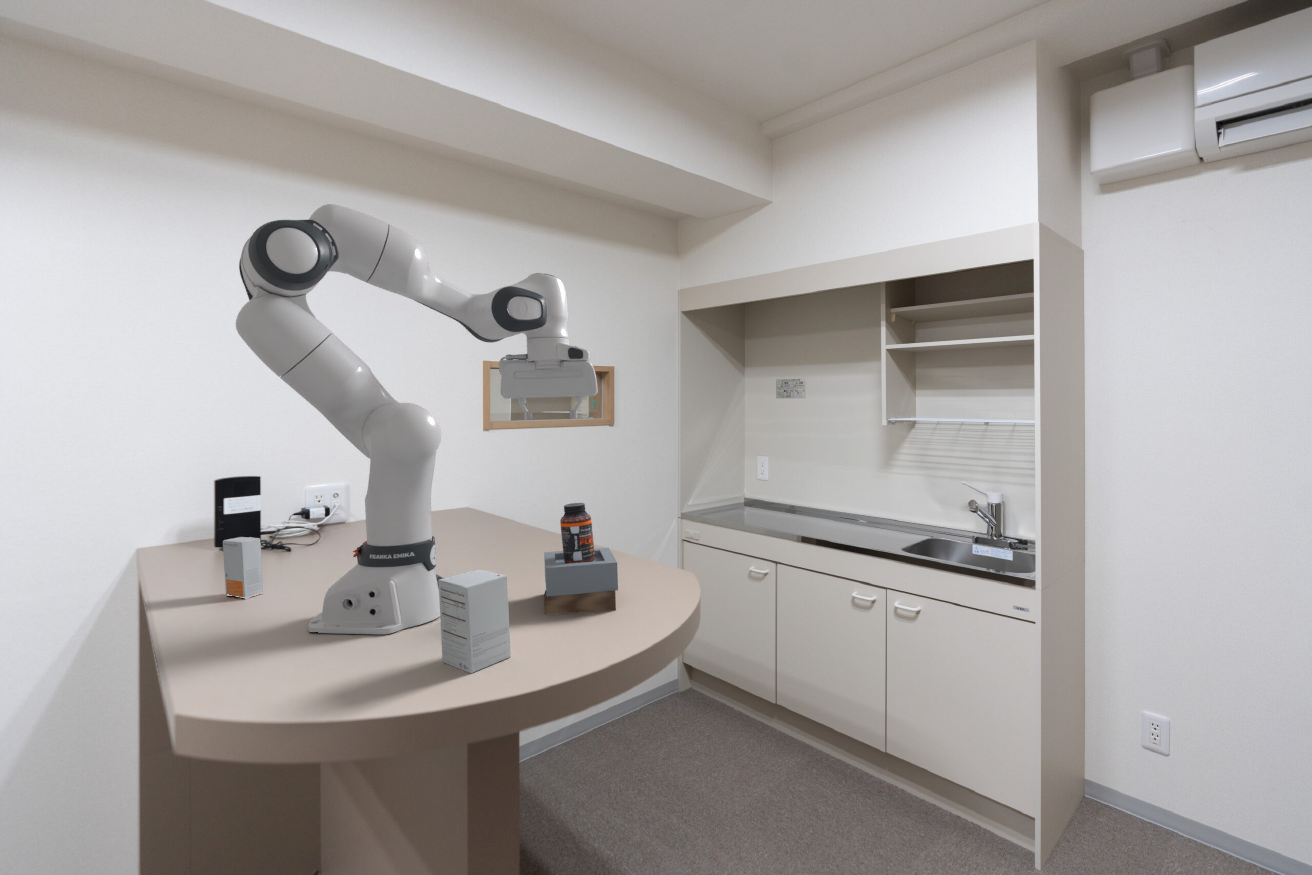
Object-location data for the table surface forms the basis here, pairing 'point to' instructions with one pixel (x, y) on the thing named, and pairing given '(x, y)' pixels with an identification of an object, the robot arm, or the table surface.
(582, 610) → the walnut bottom slab
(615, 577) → the slate grey top slab
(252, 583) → the skincare box
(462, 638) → the supplement box
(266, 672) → the table surface
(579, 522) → the supplement bottle
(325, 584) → the table surface
